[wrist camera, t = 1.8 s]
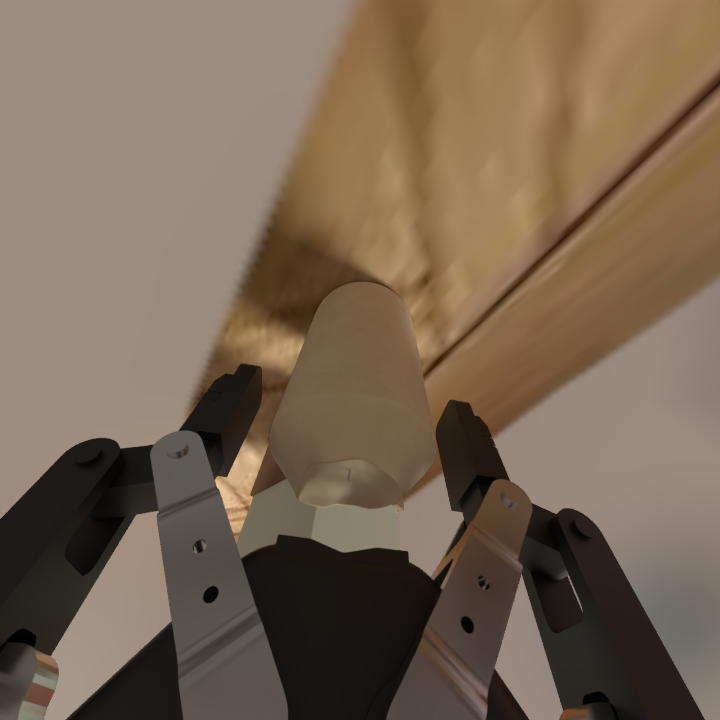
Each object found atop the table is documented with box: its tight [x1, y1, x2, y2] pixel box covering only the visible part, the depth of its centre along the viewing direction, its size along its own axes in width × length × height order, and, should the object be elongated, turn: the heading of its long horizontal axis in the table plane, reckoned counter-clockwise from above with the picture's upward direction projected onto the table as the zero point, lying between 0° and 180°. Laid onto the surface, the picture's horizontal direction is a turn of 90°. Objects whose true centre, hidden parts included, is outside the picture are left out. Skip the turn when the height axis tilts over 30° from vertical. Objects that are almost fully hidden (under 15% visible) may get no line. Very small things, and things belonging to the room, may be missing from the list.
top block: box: [236, 479, 399, 558], centre depth 17 cm, size 6×6×5 cm
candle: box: [269, 282, 436, 509], centre depth 12 cm, size 6×6×10 cm
